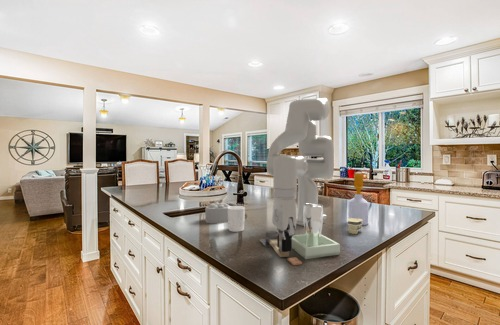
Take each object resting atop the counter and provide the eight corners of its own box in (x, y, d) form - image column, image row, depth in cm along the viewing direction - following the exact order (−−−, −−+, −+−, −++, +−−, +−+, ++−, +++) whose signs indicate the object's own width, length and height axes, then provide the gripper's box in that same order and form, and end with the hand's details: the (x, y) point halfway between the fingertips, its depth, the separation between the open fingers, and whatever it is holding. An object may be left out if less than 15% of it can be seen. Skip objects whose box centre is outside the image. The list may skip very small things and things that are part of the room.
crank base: (277, 238, 102) (277, 236, 102) (309, 263, 78) (309, 261, 78) (258, 240, 99) (258, 238, 99) (285, 266, 76) (285, 264, 76)
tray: (318, 241, 98) (318, 232, 98) (339, 254, 85) (339, 244, 85) (287, 245, 94) (287, 235, 94) (305, 259, 81) (305, 248, 81)
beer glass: (312, 251, 85) (312, 207, 85) (298, 245, 92) (299, 204, 91) (327, 248, 89) (327, 205, 88) (313, 242, 95) (313, 202, 94)
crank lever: (264, 239, 99) (264, 213, 98) (276, 238, 100) (276, 212, 99) (277, 258, 81) (277, 226, 80) (292, 257, 82) (292, 225, 81)
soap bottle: (348, 224, 122) (348, 173, 121) (348, 219, 130) (349, 172, 129) (368, 226, 118) (369, 174, 118) (367, 221, 127) (368, 172, 126)
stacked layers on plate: (364, 237, 104) (364, 224, 104) (341, 233, 108) (341, 221, 108) (367, 231, 112) (367, 218, 112) (346, 228, 117) (346, 216, 117)
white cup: (242, 232, 108) (242, 209, 108) (225, 231, 110) (225, 208, 110) (246, 227, 116) (246, 206, 116) (230, 226, 118) (230, 205, 117)
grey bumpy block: (233, 221, 127) (233, 204, 127) (209, 224, 121) (209, 206, 121) (226, 216, 136) (225, 200, 136) (202, 219, 130) (202, 203, 130)
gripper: (266, 190, 89) (265, 241, 90) (283, 197, 74) (283, 260, 74) (285, 189, 91) (285, 240, 92) (307, 196, 75) (306, 257, 76)
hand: (284, 248), depth 83 cm, fingers closed on crank lever, 3 cm apart
